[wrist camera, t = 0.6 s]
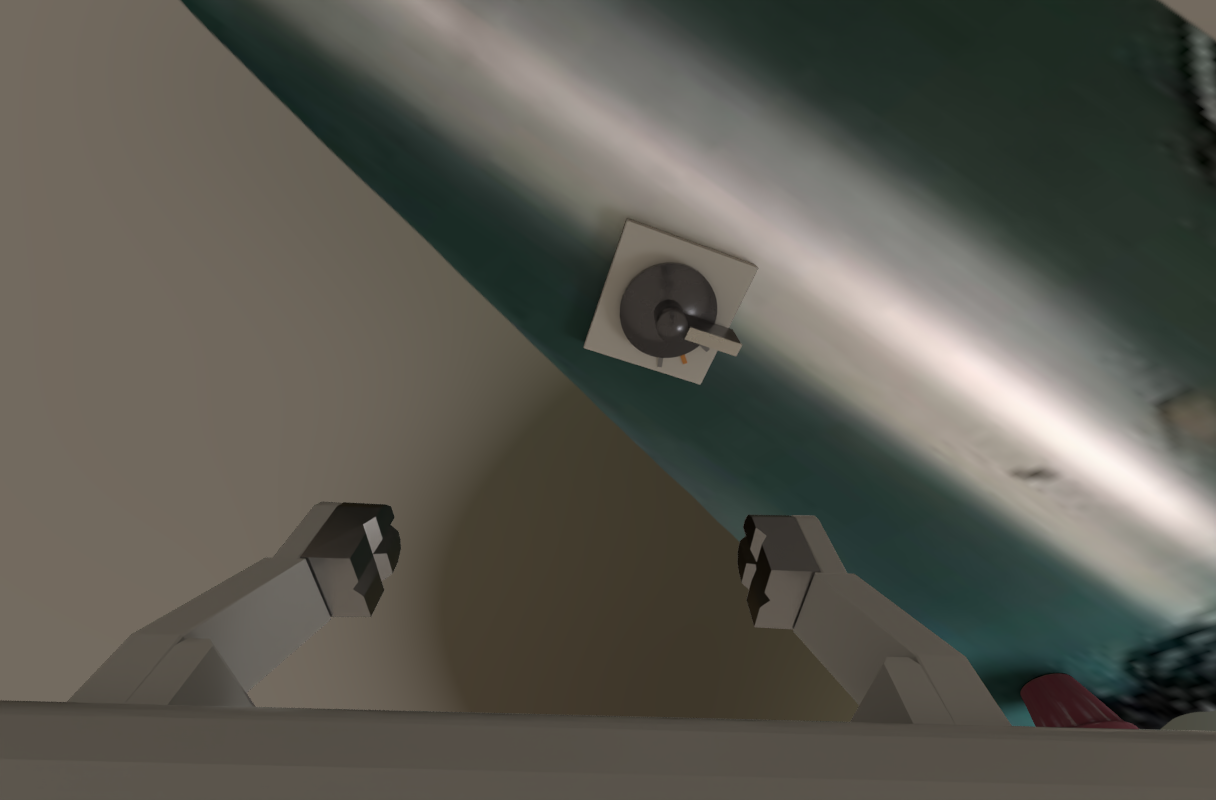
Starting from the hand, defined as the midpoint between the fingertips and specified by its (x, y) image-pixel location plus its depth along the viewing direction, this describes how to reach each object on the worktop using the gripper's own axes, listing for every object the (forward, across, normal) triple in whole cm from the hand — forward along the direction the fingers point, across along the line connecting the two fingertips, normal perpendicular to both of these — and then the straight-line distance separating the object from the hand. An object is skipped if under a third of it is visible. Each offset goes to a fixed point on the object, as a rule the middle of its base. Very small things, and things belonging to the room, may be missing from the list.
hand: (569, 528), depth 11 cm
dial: (+39, -8, +9) cm, 41 cm away
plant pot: (+41, -84, +78) cm, 122 cm away
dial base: (+41, -7, +8) cm, 42 cm away
